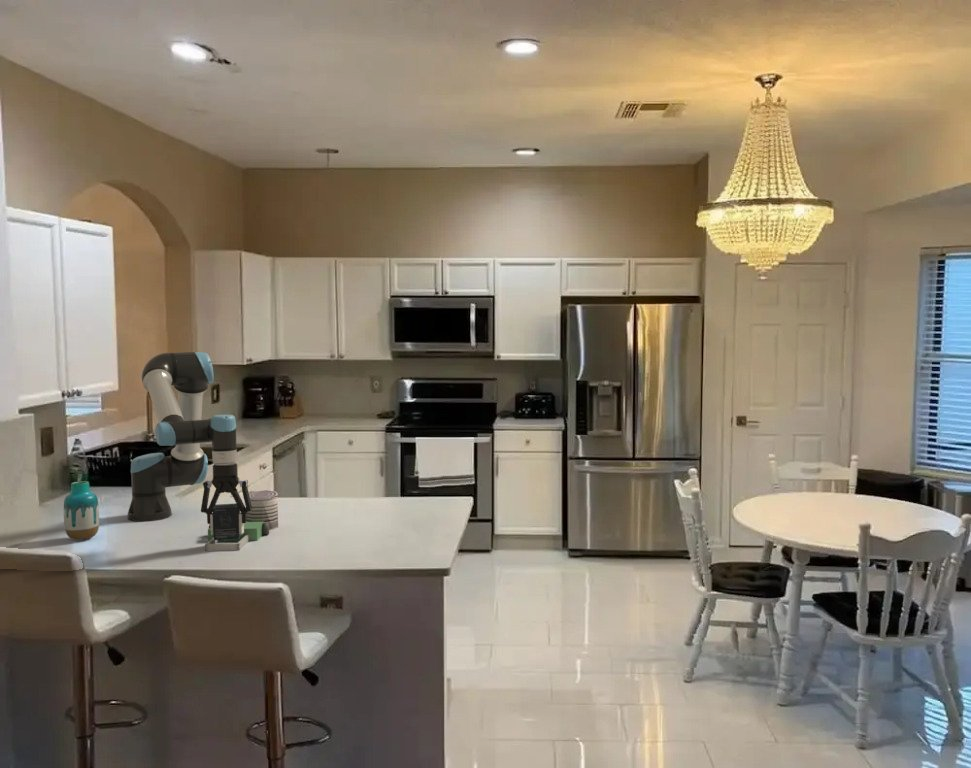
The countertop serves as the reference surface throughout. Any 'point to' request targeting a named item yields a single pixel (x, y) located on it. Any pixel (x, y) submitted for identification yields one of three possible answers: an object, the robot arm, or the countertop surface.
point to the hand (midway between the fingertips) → (227, 533)
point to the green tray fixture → (250, 534)
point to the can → (264, 508)
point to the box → (226, 521)
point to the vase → (81, 512)
